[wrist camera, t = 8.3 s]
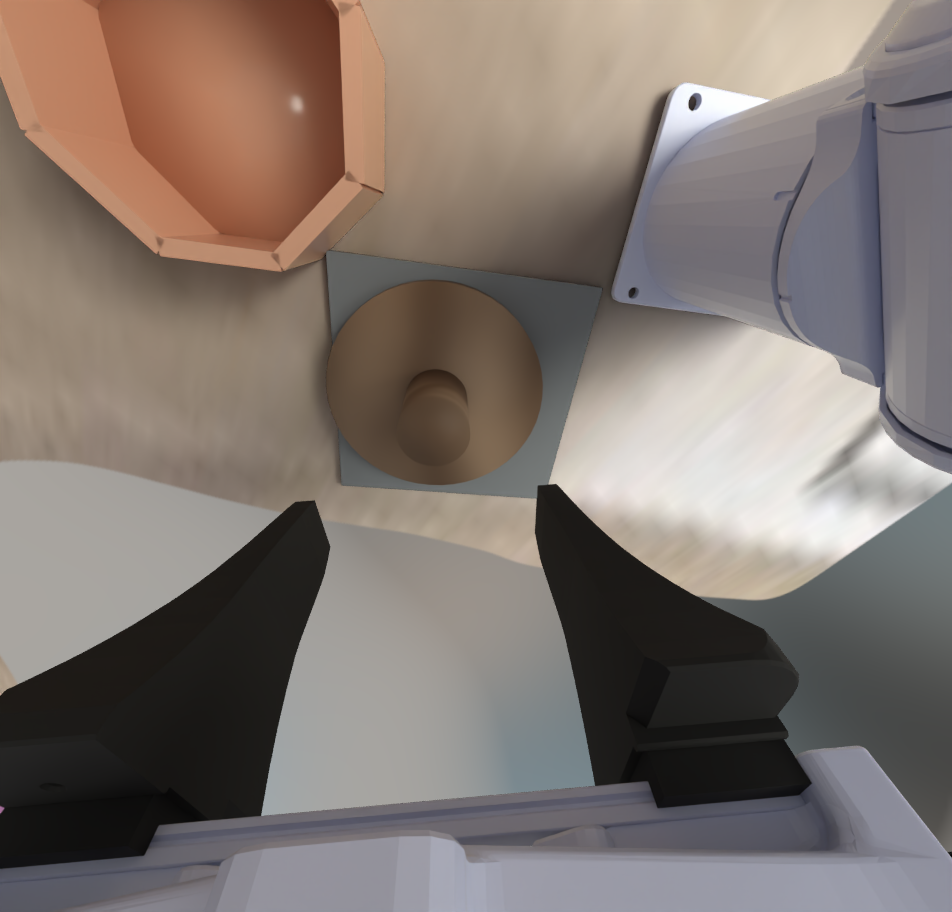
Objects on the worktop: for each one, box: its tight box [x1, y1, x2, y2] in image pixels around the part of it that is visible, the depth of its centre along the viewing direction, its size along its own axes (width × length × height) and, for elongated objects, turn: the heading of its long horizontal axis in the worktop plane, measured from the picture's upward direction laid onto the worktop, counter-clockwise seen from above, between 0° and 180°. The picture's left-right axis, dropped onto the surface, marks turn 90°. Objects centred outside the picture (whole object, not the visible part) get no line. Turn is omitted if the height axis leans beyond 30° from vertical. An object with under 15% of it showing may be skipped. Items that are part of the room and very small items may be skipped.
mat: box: [326, 250, 603, 499], centre depth 21 cm, size 13×13×1 cm
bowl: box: [0, 0, 385, 272], centre depth 13 cm, size 10×10×4 cm
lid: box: [326, 279, 543, 485], centre depth 19 cm, size 11×11×5 cm
